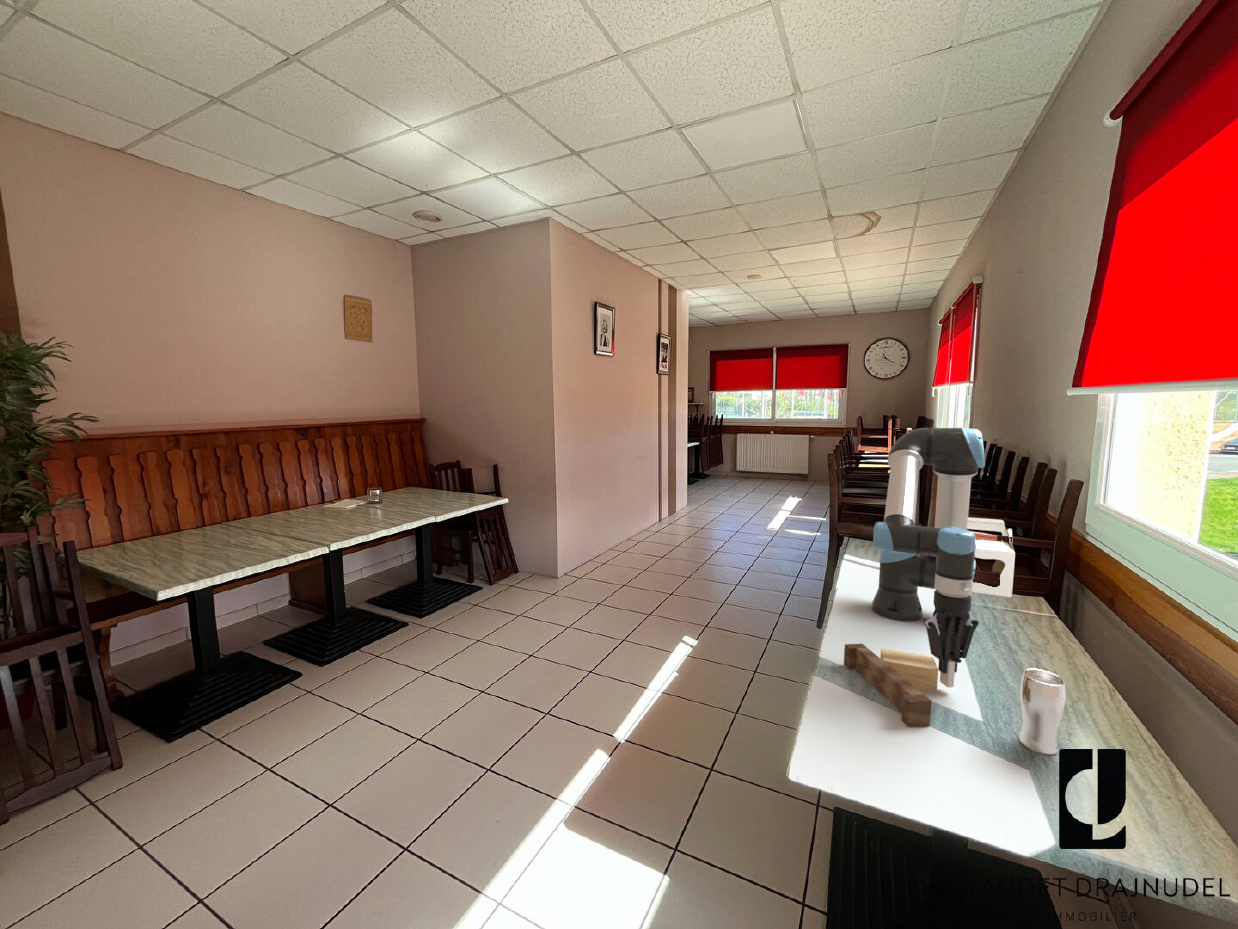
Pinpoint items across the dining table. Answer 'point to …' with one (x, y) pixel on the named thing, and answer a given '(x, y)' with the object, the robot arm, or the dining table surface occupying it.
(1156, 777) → the dining table surface
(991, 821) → the dining table surface
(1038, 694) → the silver metal tumbler
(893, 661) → the oak block
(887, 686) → the brown wooden bar
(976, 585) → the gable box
